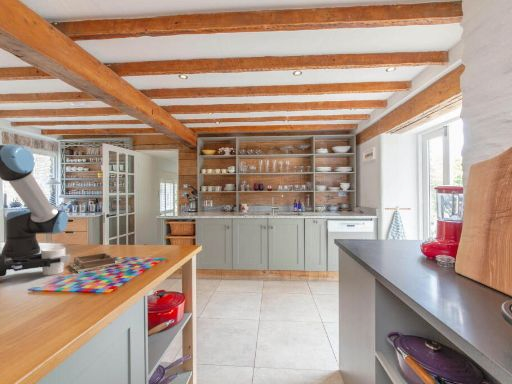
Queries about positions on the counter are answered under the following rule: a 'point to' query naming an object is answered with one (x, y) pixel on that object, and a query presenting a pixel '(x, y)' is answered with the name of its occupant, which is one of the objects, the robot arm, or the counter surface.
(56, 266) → the white cup
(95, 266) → the cup holder
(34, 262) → the robot arm
